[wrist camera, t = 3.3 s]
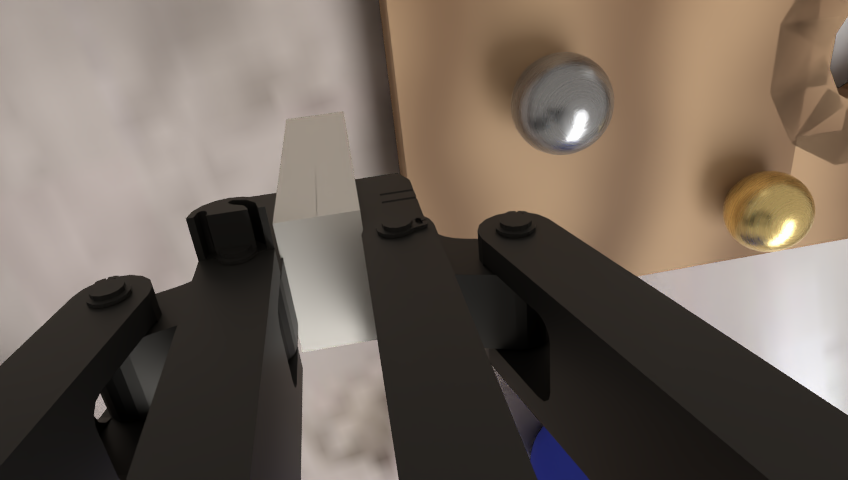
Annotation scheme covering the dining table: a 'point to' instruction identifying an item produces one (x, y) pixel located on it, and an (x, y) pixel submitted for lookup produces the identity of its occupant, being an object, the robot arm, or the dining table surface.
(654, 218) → the deck
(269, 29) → the dining table surface
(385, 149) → the dining table surface
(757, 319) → the dining table surface
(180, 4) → the dining table surface
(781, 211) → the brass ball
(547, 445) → the mug
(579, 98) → the steel ball
